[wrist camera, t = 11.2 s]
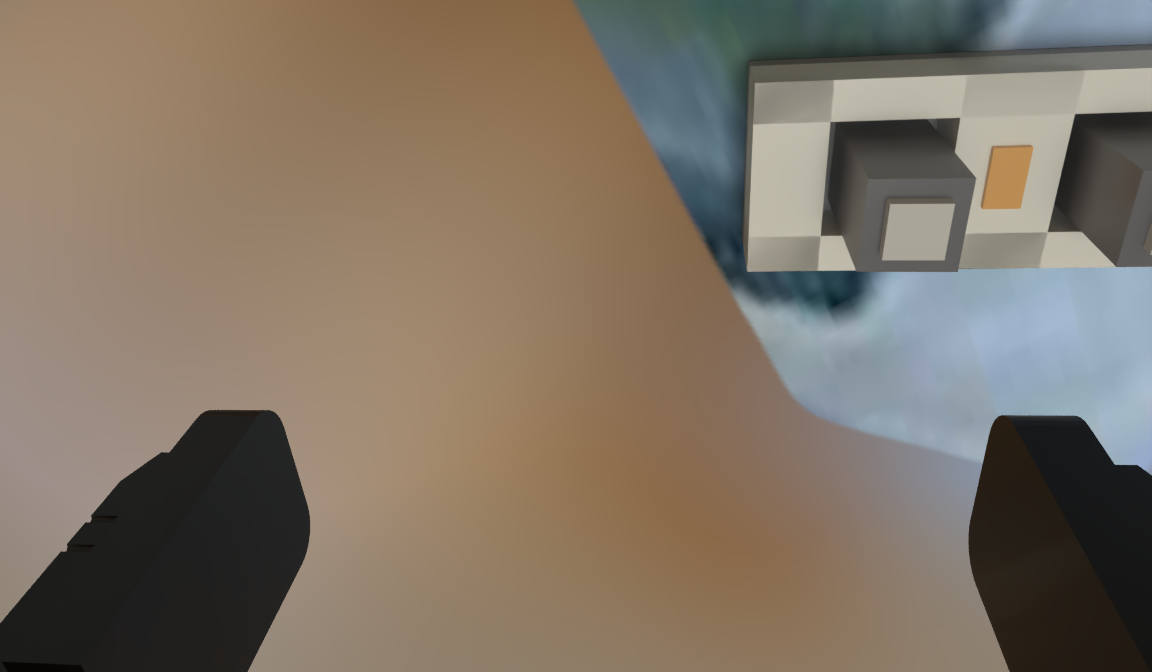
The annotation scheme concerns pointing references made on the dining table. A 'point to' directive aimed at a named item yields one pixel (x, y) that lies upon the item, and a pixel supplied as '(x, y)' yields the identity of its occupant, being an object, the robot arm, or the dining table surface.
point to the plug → (899, 196)
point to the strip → (964, 120)
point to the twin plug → (1111, 184)
